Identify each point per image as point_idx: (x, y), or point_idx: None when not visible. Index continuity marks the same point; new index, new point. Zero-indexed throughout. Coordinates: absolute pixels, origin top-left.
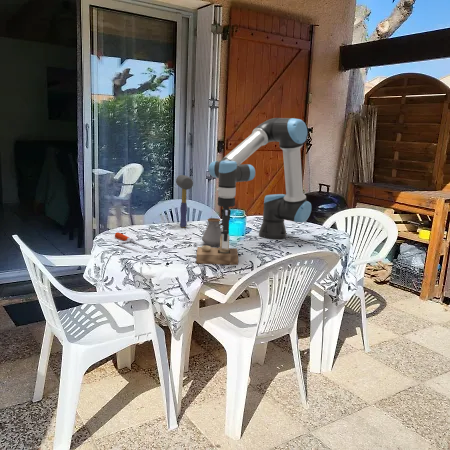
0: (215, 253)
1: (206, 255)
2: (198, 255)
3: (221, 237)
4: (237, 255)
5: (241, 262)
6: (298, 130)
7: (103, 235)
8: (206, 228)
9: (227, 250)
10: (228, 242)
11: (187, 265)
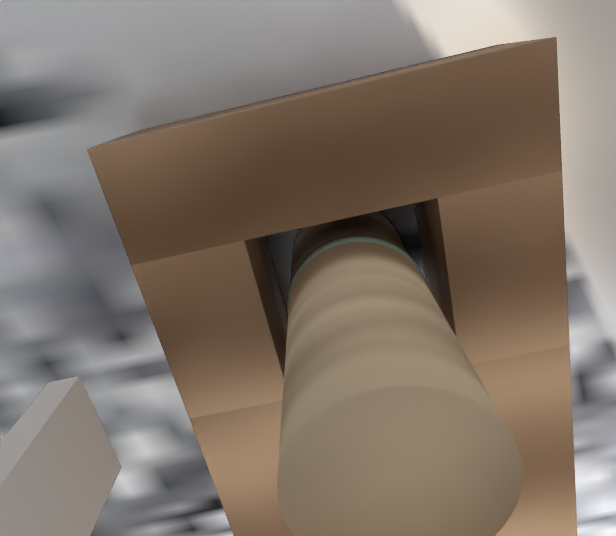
0: (487, 391)
1: (571, 464)
2: (573, 533)
3: (481, 531)
4: (531, 55)
5: (370, 9)
6: None
7: None
8: None
9: (405, 263)
10: (422, 318)
11: (610, 524)
